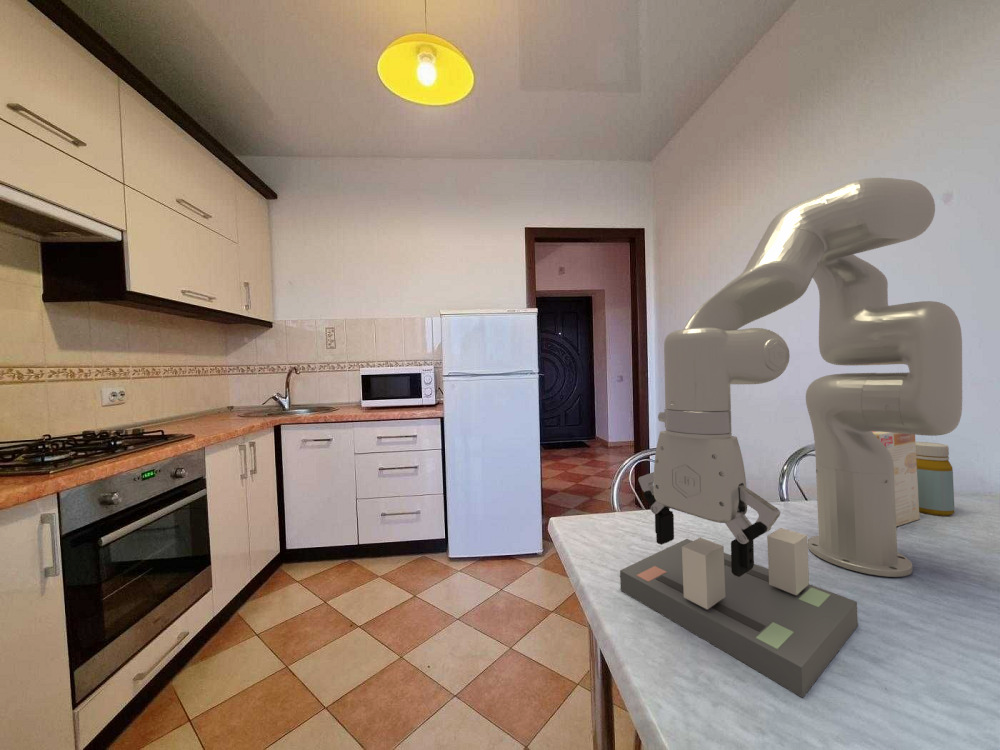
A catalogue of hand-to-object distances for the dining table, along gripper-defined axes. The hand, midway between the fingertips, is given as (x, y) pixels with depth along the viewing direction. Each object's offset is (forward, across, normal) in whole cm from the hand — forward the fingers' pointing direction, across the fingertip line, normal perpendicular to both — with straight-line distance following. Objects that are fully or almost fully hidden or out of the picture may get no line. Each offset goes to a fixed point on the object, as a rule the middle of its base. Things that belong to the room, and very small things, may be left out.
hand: (700, 555), depth 46 cm
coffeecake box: (+8, +4, +63) cm, 63 cm away
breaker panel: (+9, 0, +7) cm, 11 cm away
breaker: (+5, +5, +13) cm, 15 cm away
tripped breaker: (+5, 0, +1) cm, 5 cm away
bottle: (+7, +9, +78) cm, 79 cm away
